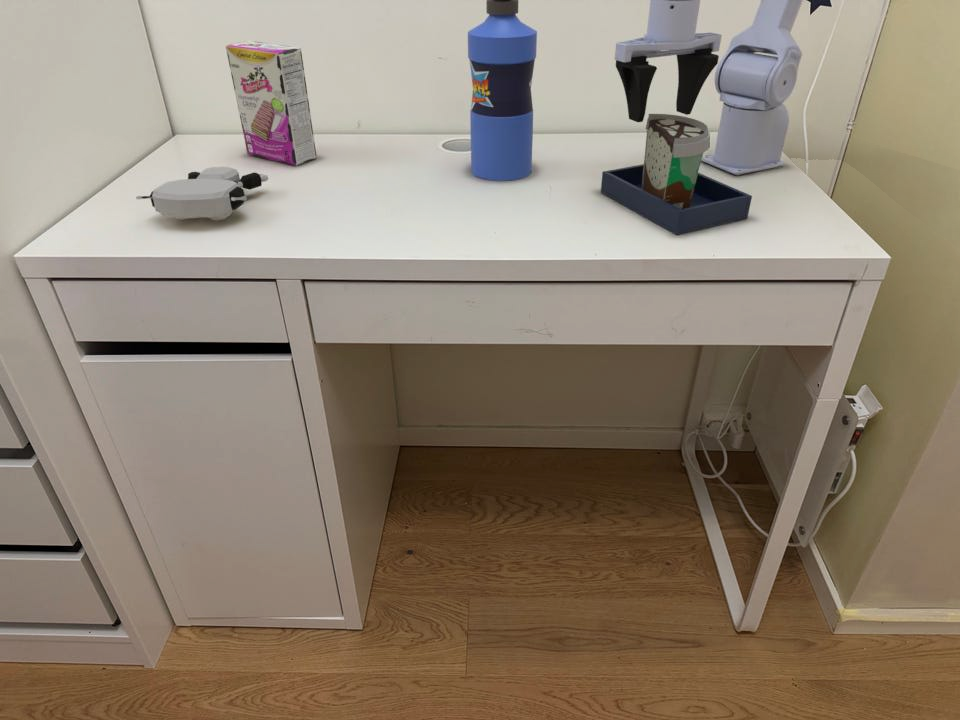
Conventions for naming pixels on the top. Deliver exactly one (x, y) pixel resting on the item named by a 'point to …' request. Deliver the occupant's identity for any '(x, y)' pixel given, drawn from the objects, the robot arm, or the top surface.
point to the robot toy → (204, 194)
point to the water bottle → (501, 94)
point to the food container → (673, 157)
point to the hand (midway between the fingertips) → (659, 116)
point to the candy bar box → (272, 101)
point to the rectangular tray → (706, 209)
